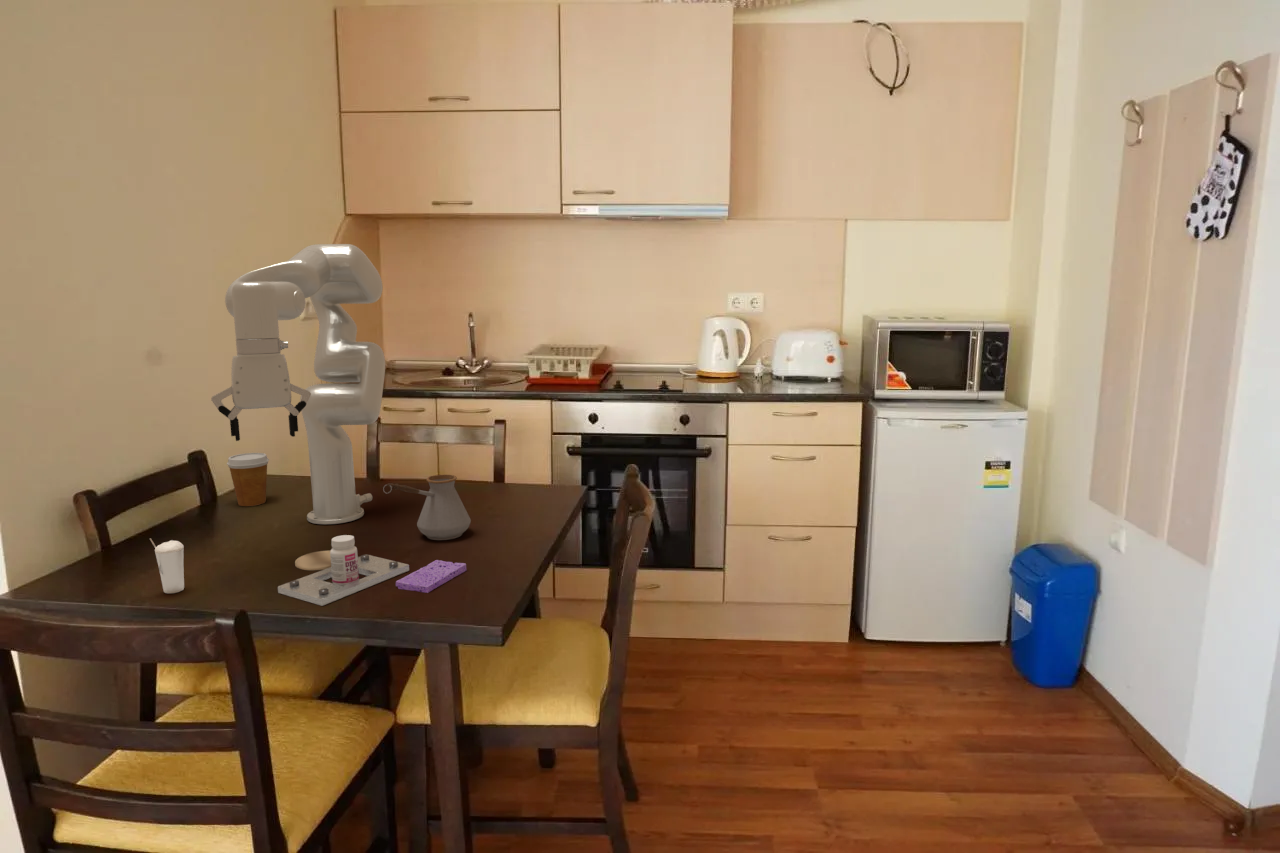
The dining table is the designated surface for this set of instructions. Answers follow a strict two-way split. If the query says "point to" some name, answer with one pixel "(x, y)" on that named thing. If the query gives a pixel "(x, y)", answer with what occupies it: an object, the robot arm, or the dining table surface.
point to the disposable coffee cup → (249, 477)
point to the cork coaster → (314, 561)
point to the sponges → (431, 576)
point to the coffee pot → (440, 508)
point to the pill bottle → (344, 560)
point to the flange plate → (325, 592)
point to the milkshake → (171, 565)
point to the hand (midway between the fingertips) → (265, 437)
